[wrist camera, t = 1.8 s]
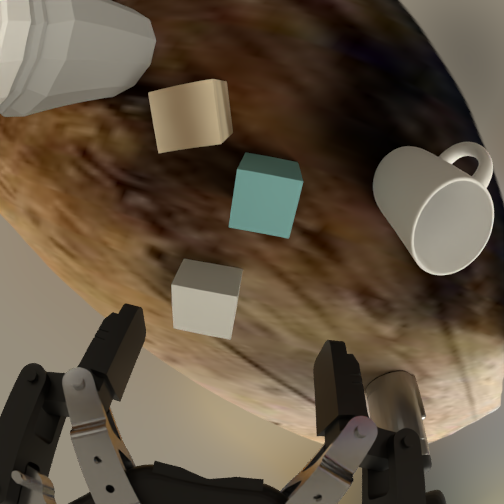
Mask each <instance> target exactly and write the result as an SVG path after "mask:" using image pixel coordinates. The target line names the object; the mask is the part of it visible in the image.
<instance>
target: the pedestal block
mask: <svg viewBox="0 0 504 504" xmlns="http://www.w3.org/2000/svg"><path fill="white" fill-rule="evenodd" d="M242 271H243V269H241V268H235V267H229V266H223V265H218V264H212V263H206V262H201V261H195V260H190V259H183V261H182V263H181V265H180V267H179V269H178V271H177V273H176V276H175V278H174V280H173V282H172V284H171V290H172V310H173V326H174V328H175V329H179V330H184V331H189V332H193V333H198V334H203V335H208V336H214V337H219V338H225V339H230V340H231V336H232V331H233V325H234V320H235V314H236V308H237V302H238V296H239V290H240V283H241V277H242Z"/></svg>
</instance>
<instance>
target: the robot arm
mask: <svg viewBox="0 0 504 504" xmlns="http://www.w3.org/2000/svg"><path fill="white" fill-rule="evenodd" d="M145 336H146V328H145V322H144V316H143V309H142V308H141V307H138V306H134V305H130V304H124V305H123V307H122V309H121V310H120V312H119V314H117V313H114V312H113V313H111V314H110V315H109V316H108V317H106V318H105V319H104V320H103V322H102V324H101V326H100V327H99V330H98V331H97V333H96V334H95V338H93V340H92V342H91V343H90V345H89V347H88V349H87V351H86V353H85V355H84V357H83V358H82V360H81V362H80V364H79V365H78V367H76V368H72V369H70V370H69V371H67V372H66V373H54V372H46V371H45V370H44V368H43V367H42V366H41V365H39V364H36V363H31V364H28V365H26V366H25V367H24V368H23V369H22V370H21V372H20V374H19V376H18V378H17V380H16V382H15V384H14V387H13V389H12V391H11V393H10V395H9V398H8V400H7V402H6V405H5V407H4V409H3V412H2V414H1V416H0V504H56V501H55V498H54V493H55V491H54V486H53V483H52V482H51V480H50V479H49V478H48V475H49V471H50V468H51V464H52V460H53V457H54V454H55V450H56V447H57V443H58V440H59V437H60V434H61V431H62V428H63V425H64V422H65V419H66V417H70V420H71V424H72V430H71V431H70V435H71V440H72V443H73V446H74V450H75V453H76V455H77V459H78V462H79V464H80V467H81V470H82V472H83V475H84V478H85V480H86V483H87V485H88V488H89V490H90V492H89V493H87V494H86V495H84V496H82V497H80V498H78V499H76V500H74V501H73V502H70V503H68V504H338V502H339V501H340V500H341V498H342V497H343V496H344V494H345V493H346V491H347V490H348V489H349V487H350V486H351V484H352V482H353V478H352V477H353V474H354V473H355V471H356V470H357V468H358V467H362V504H446V501H445V497H444V495H443V494H442V492H441V491H440V490H434V491H430V492H426V493H425V479H424V474H426V473H427V472H428V471H429V470H430V469H431V458H430V452H429V447H428V442H427V437H426V433H425V428H424V424H423V420H424V419H425V417H426V414H425V410H424V406H423V402H422V399H421V395H420V392H419V388H418V385H417V381H416V378H415V376H411V375H410V374H409V373H407V372H404V371H398V372H392V373H388V374H385V375H383V376H381V377H379V378H377V379H375V380H374V381H372V382H371V383H370V384H369V385H368V386H367V388H366V393H367V400H368V405H369V412H370V418H369V416H368V413H367V407H366V401H365V395H364V389H363V384H362V378H361V372H360V367H359V363H358V362H357V360H356V358H355V357H354V355H353V354H347V351H346V346H345V343H344V342H343V341H332V340H327V341H326V342H325V344H324V346H323V347H322V349H321V351H320V353H319V355H318V357H317V358H316V361H315V364H314V388H315V405H316V428H317V436H325V443H324V444H323V445H322V446H321V448H320V449H319V450H318V451H317V452H316V454H315V455H314V456H313V457H312V459H311V460H310V461H309V462H308V463H307V464H306V466H305V467H304V468H303V469H302V470H301V471H300V472H299V473H298V475H296V476H295V477H294V478H293V479H292V480H291V481H290V482H289V483H288V484H287V485H286V486H285V487H284V488H283V489H282V490H281V491H279V490H277V489H275V488H273V487H271V486H269V485H267V484H263V479H252V478H241V477H232V478H218V479H206V478H203V477H201V476H199V475H197V474H194V473H192V472H189V471H187V470H185V469H183V468H181V467H177V466H173V465H169V464H165V463H161V462H157V461H155V462H154V465H141V466H135V464H134V462H133V459H132V457H131V455H130V453H129V451H128V449H127V448H126V446H125V444H124V442H123V440H122V437H121V435H120V432H119V430H118V427H117V425H116V422H115V419H114V417H113V414H112V411H111V408H110V405H111V402H112V400H113V399H114V400H117V401H121V398H122V395H123V393H124V390H125V388H126V385H127V383H128V380H129V378H130V375H131V373H132V370H133V368H134V365H135V363H136V360H137V358H138V355H139V353H140V350H141V348H142V346H143V343H144V341H145Z"/></svg>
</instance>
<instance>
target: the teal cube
mask: <svg viewBox="0 0 504 504" xmlns="http://www.w3.org/2000/svg"><path fill="white" fill-rule="evenodd" d="M302 185H303V179H302V175H301V172H300V168H299V164H298V162H294V161H289V160H284V159H279V158H274V157H269V156H263V155H258V154H252V153H246V152H245V154H244V156H243V158H242V160H241V162H240V164H239V166H238V168H237V173H236V180H235V187H234V194H233V200H232V207H231V214H230V222H229V227H230V228H235V229H241V230H246V231H252V232H257V233H263V234H268V235H273V236H279V237H284V238H289V236H290V232H291V228H292V224H293V221H294V217H295V213H296V209H297V205H298V201H299V197H300V193H301V189H302Z"/></svg>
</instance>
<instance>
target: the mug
mask: <svg viewBox="0 0 504 504" xmlns="http://www.w3.org/2000/svg"><path fill="white" fill-rule="evenodd" d="M463 156H473V157H475V158H477V159H478V161H479V166H478V168H477V170H476V172H475V173H474V175H473V176H472V177H471V176H470V175H468V174H467V173H465V172H463V171H462V170H460V169H458V168H457V167H455V166H453V165H452V163H453V162H454V161H456V160H457V159H459V158H460V157H463ZM492 172H493V163H492V159H491V156H490V154H489V153H488V152H487V150H486V149H485V148H484V147H482V146H481V145H479V144H476V143H473V142H462V143H458V144H455V145H453V146H451V147H450V148H448V149H447V150H445V151H444V152H443V153H442V154H441V155H440V156H439V157H437V156H435V155H434V154H432V153H430V152H428V151H426V150H424V149H421V148H418V147H413V146H405V147H400V148H397V149H395V150H393V151H391V152H390V153H388V154H387V155H386V156H385V157H384V158H383V159H382V161H381V162H380V164H379V165H378V167H377V169H376V172H375V175H374V179H373V193H374V197H375V201H376V203H377V205H378V207H379V209H380V210H381V212H382V213H383V215H384V216H385V217H386V219H387V220H388V222H389V223H390V224H391V226H392V227H393V229H394V230H395V231H396V233H397V234H398V236H399V237H400V239H401V240H402V242H403V243H404V245H405V246H406V248H407V249H408V251H409V252H410V254H411V255H412V257H413V258H414V260H415V261H416V263H417V264H418V266H419V267H420V268H421V269H423V270H424V271H426V272H428V273H430V274H434V275H448V274H452V273H455V272H457V271H460V270H461V269H463V268H465V267H466V266H468V265H469V264H470V263H471V262H472V261H474V260H475V258H476V257H477V256H478V255H479V254H480V253H481V251H482V250H483V248H484V247H485V245H486V243H487V241H488V239H489V237H490V234H491V231H492V227H493V221H494V207H493V202H492V199H491V196H490V194H489V192H488V190H487V189H486V188H487V186H488V184H489V182H490V180H491V177H492Z"/></svg>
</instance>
